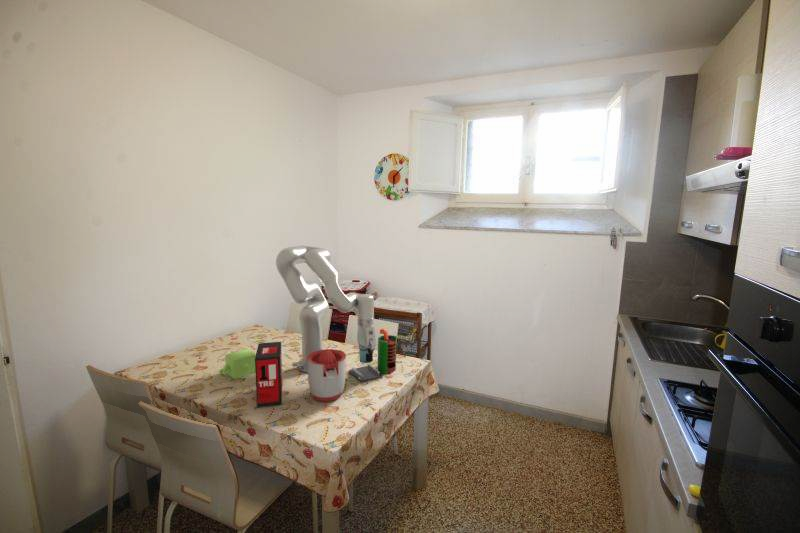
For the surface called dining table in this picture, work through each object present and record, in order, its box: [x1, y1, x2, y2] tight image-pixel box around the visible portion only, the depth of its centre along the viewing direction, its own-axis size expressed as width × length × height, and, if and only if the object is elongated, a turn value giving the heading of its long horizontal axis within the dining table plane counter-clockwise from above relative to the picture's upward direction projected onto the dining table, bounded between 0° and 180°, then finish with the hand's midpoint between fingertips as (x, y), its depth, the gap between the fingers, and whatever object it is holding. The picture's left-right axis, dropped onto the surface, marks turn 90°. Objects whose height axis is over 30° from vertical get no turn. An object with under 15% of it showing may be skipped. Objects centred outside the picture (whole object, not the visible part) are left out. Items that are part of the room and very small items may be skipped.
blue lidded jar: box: [358, 345, 373, 364], centre depth 167 cm, size 6×6×7 cm
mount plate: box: [348, 363, 384, 384], centre depth 168 cm, size 11×13×2 cm
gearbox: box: [219, 348, 256, 380], centre depth 167 cm, size 18×10×10 cm, turn 137°
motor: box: [376, 328, 398, 375], centre depth 173 cm, size 10×9×20 cm
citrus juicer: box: [307, 348, 347, 402], centre depth 147 cm, size 16×17×20 cm
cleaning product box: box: [254, 341, 283, 409], centre depth 146 cm, size 16×9×20 cm, turn 17°
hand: (365, 358), depth 168 cm, fingers closed on blue lidded jar, 6 cm apart
